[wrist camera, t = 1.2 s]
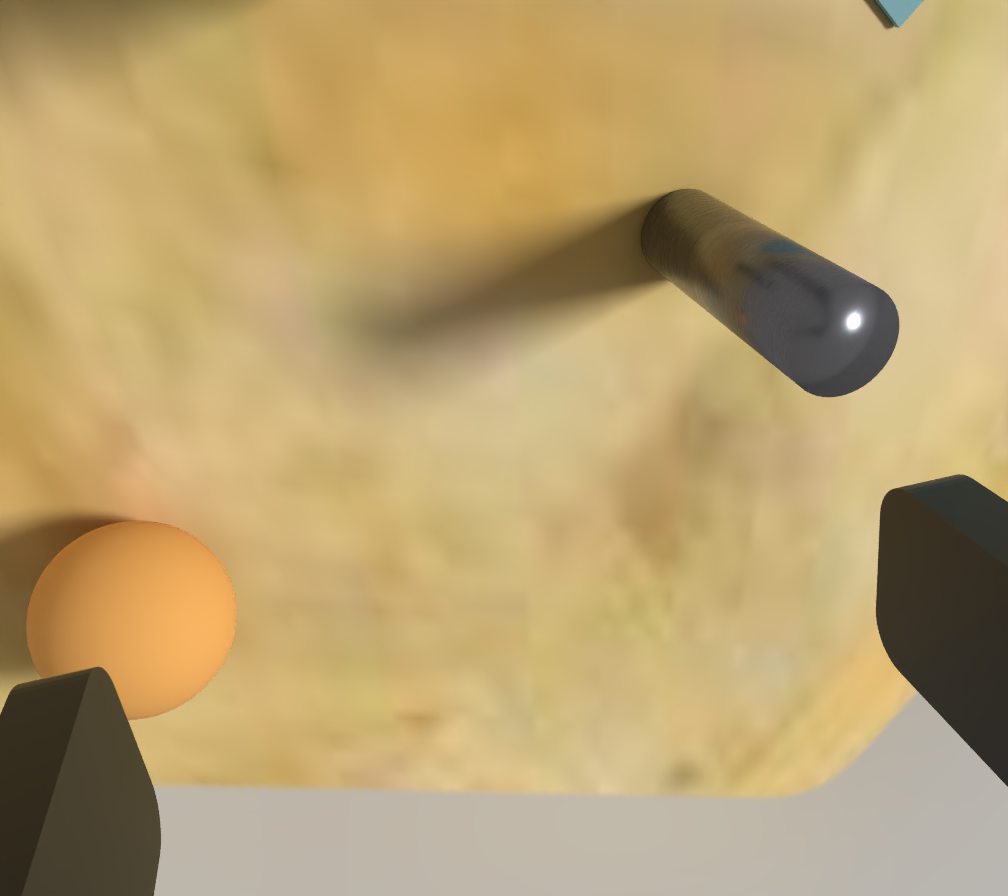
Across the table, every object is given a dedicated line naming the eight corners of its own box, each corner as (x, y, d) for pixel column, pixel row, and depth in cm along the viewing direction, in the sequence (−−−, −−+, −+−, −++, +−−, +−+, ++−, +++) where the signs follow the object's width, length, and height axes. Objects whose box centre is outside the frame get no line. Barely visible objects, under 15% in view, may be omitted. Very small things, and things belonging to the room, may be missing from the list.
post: (623, 240, 28) (764, 353, 20) (684, 169, 27) (853, 257, 20) (681, 292, 29) (834, 418, 21) (740, 226, 29) (921, 330, 21)
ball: (10, 586, 29) (-40, 714, 24) (113, 453, 27) (82, 558, 23) (173, 662, 31) (157, 791, 26) (274, 542, 30) (276, 655, 25)
